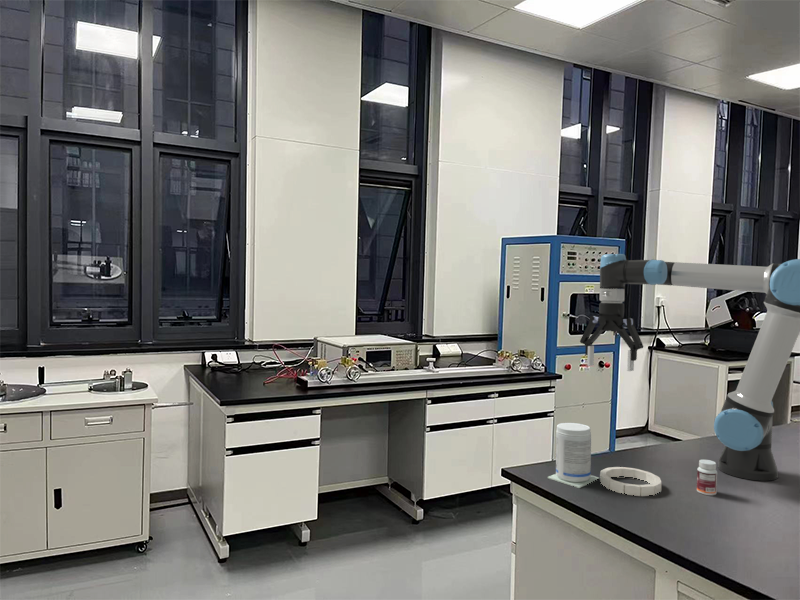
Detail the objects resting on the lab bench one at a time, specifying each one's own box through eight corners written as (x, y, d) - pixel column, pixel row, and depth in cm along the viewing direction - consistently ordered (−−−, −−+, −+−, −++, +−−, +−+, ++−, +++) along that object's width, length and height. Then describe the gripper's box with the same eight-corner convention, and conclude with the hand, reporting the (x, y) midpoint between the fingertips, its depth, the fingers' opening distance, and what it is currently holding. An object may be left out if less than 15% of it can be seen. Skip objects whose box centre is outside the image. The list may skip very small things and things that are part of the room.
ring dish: (670, 486, 156) (670, 477, 156) (645, 500, 146) (645, 491, 146) (616, 471, 168) (616, 463, 168) (589, 484, 157) (590, 475, 157)
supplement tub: (597, 479, 160) (599, 428, 159) (575, 485, 155) (576, 432, 154) (570, 469, 168) (571, 420, 167) (548, 475, 163) (549, 424, 162)
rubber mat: (599, 479, 161) (599, 477, 161) (579, 488, 154) (579, 486, 154) (568, 470, 169) (568, 468, 169) (547, 478, 161) (547, 476, 161)
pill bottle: (699, 487, 156) (701, 457, 155) (718, 492, 152) (720, 462, 152) (693, 492, 152) (695, 461, 152) (713, 497, 149) (714, 465, 149)
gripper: (570, 301, 187) (569, 364, 188) (645, 304, 169) (643, 374, 170) (582, 300, 193) (580, 362, 193) (655, 303, 174) (653, 371, 175)
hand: (609, 368), depth 182 cm, fingers open, 13 cm apart
